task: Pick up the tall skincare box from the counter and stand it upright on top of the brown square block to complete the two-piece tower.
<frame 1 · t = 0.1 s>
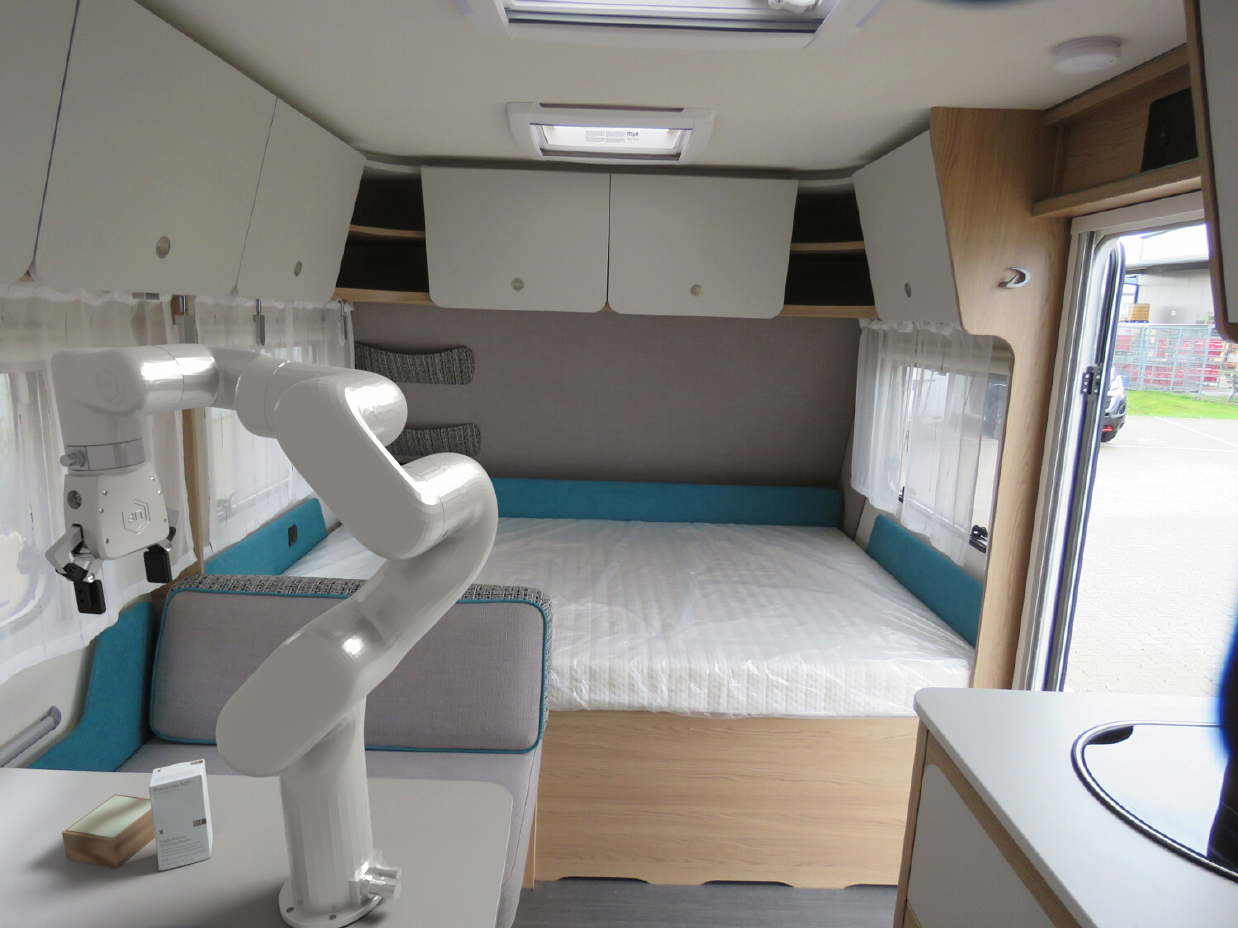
hand: (128, 596, 89), 37 cm above the table, tool pointing down, fingers open, 9 cm apart
brown square block: (118, 842, 100), on the table
skincare box: (188, 855, 98), on the table
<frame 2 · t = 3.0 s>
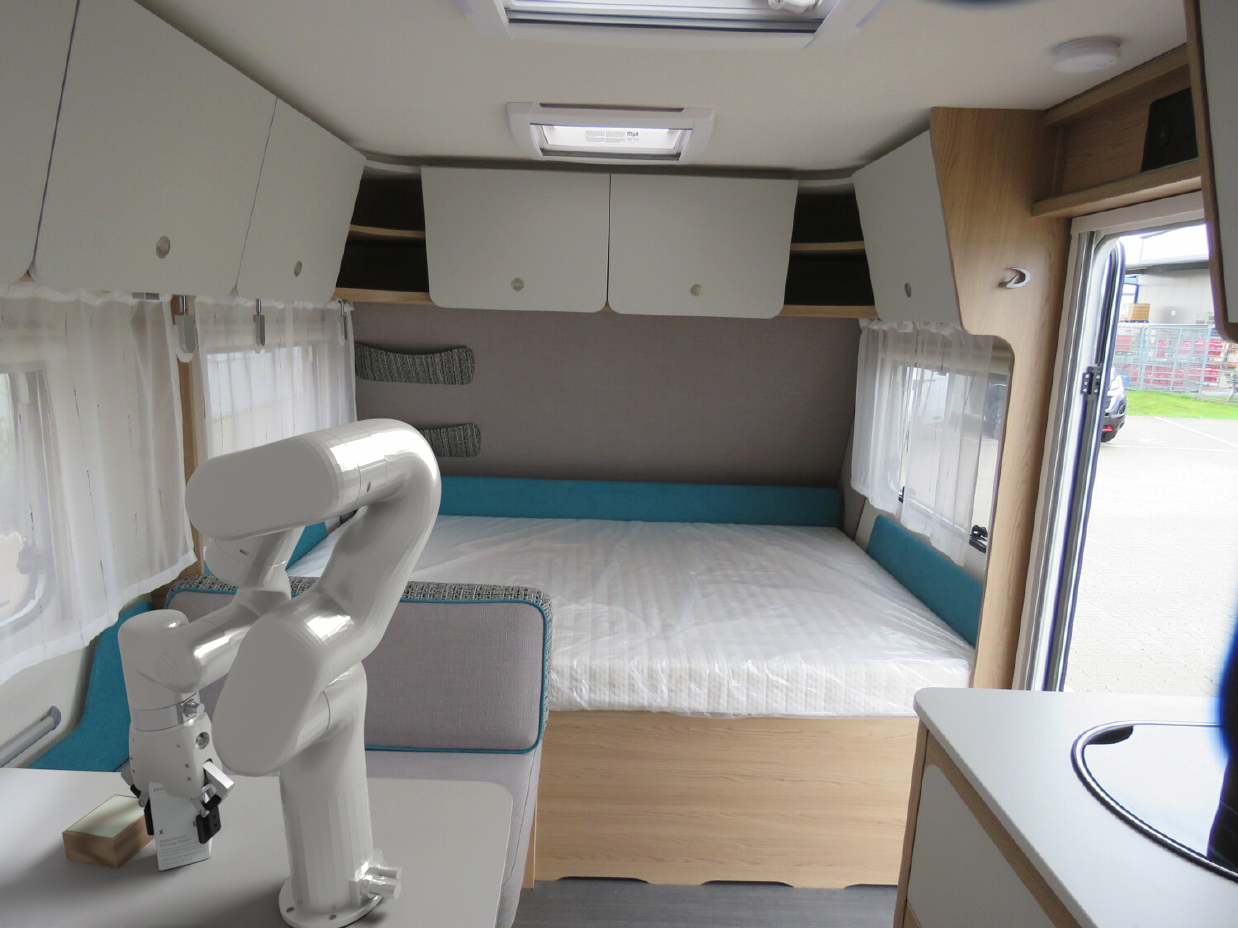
hand: (184, 831, 97), 3 cm above the table, tool pointing down, fingers closed on skincare box, 7 cm apart
skincare box: (188, 855, 98), on the table, touching gripper
when the fingers open (8 cm above the table, at t = 7.9 s): skincare box stays where it is, resting on brown square block.
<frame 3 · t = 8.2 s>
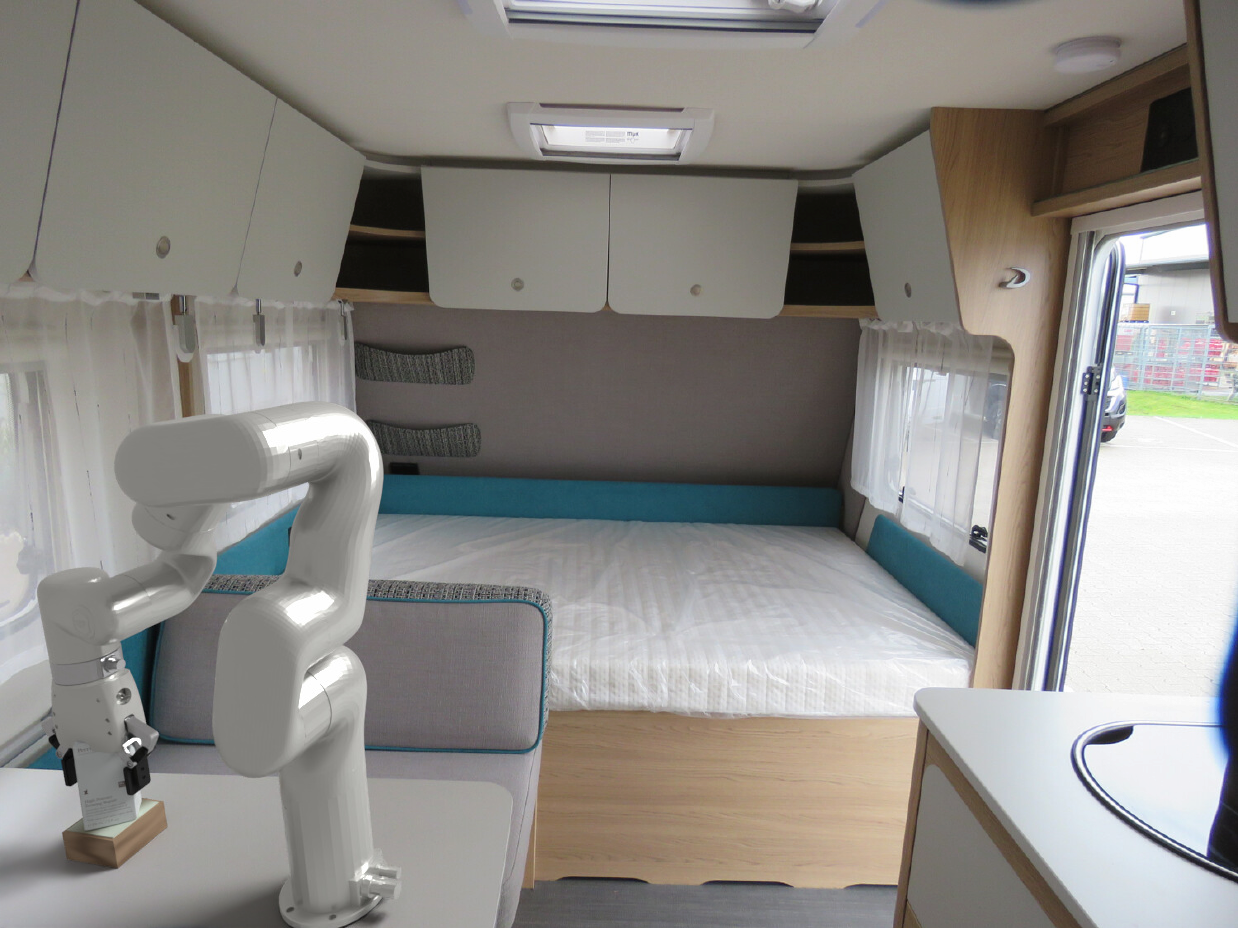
hand: (108, 784, 98), 9 cm above the table, tool pointing down, fingers open, 9 cm apart
skincare box: (115, 816, 99), point 4 cm above the table, touching brown square block
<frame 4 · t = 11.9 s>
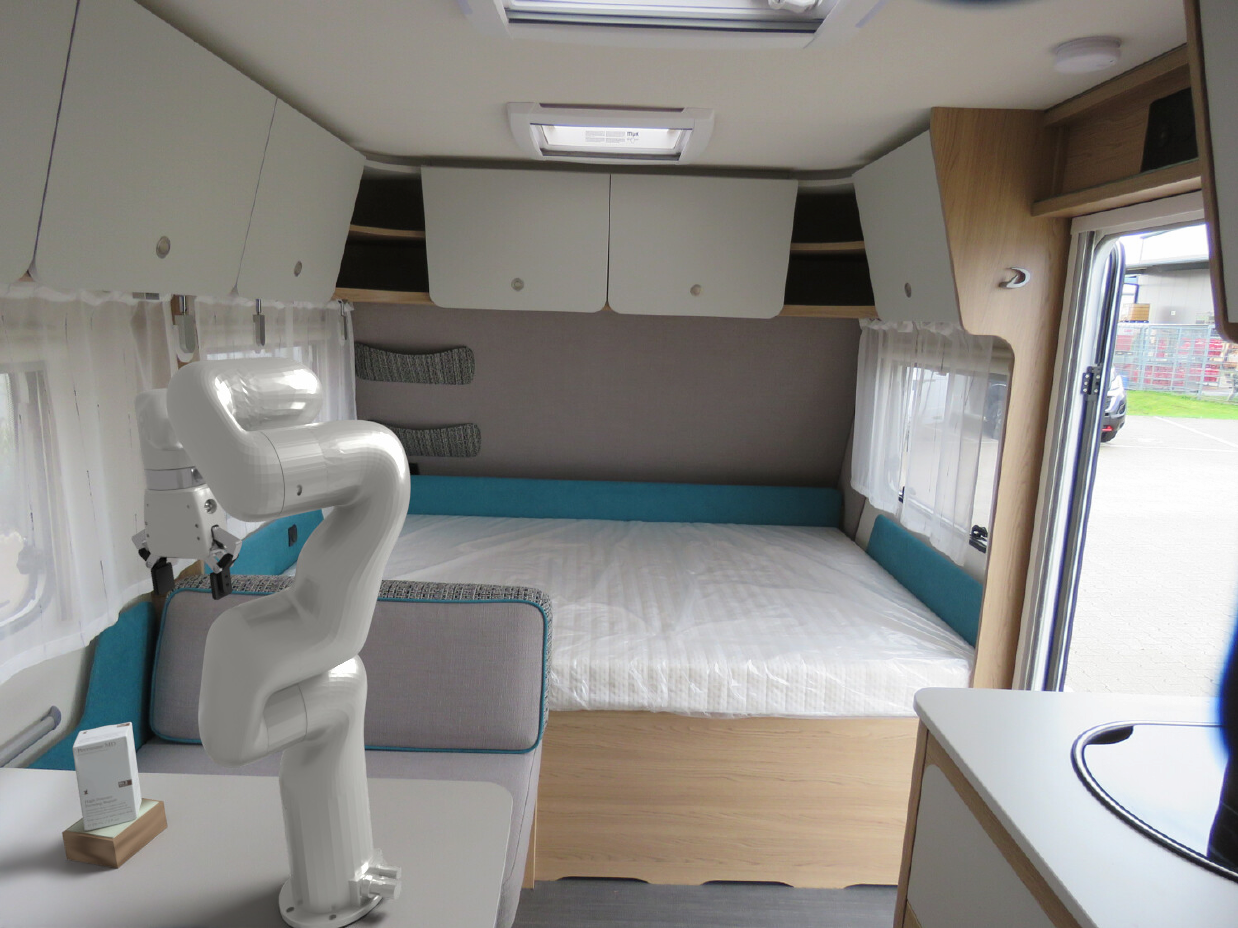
hand: (193, 594, 107), 30 cm above the table, tool pointing down, fingers open, 9 cm apart
nothing on the table moved.
at the end: skincare box inside the target area on the brown square block (0.3 cm from its centre), point 3.9 cm above the brown square block's base; skincare box tilted 0°; the gripper is holding nothing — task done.
